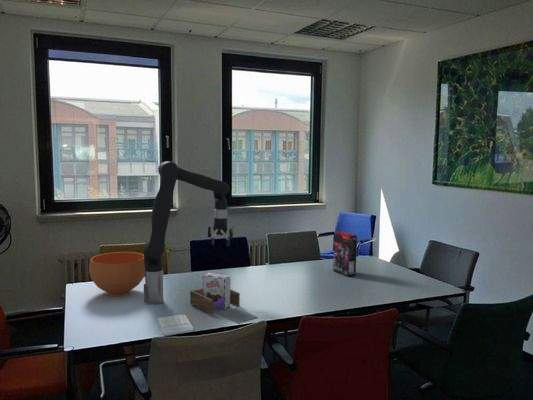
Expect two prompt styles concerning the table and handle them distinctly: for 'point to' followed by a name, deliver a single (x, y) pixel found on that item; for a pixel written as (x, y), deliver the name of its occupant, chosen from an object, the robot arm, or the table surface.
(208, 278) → the candy box
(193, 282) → the table surface
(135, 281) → the bowl
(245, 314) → the slate mat
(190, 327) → the calculator
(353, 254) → the graphics card box
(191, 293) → the walnut u-shaped frame
